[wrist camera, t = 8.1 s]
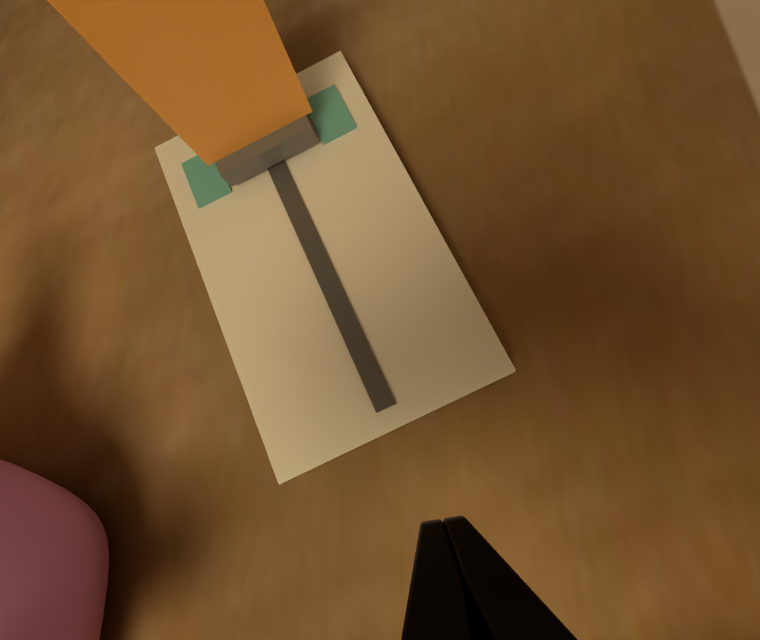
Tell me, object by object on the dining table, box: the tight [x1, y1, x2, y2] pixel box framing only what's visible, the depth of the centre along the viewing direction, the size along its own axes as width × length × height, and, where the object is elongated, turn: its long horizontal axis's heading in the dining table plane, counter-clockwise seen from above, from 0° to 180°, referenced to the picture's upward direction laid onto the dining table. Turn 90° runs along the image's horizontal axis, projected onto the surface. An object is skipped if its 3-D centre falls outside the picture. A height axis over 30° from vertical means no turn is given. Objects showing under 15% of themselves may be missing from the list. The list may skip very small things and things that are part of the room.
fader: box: [47, 0, 318, 187], centre depth 18 cm, size 4×6×10 cm, turn 115°
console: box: [155, 51, 516, 484], centre depth 22 cm, size 20×12×2 cm, turn 25°
